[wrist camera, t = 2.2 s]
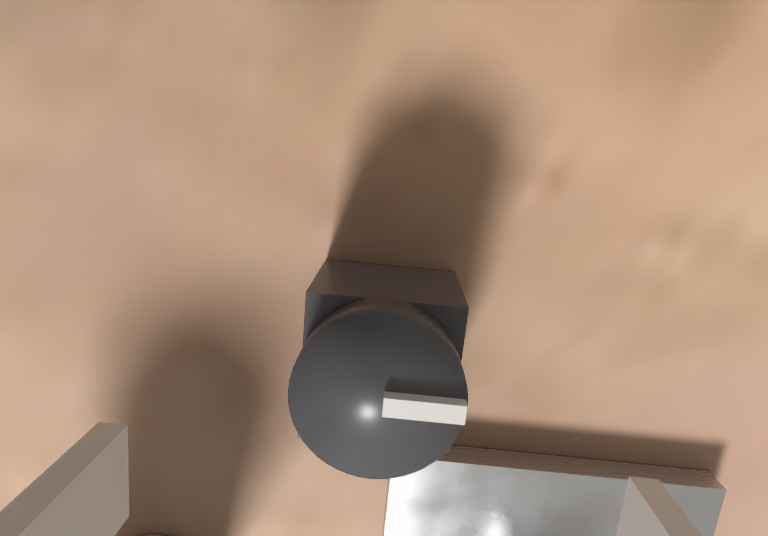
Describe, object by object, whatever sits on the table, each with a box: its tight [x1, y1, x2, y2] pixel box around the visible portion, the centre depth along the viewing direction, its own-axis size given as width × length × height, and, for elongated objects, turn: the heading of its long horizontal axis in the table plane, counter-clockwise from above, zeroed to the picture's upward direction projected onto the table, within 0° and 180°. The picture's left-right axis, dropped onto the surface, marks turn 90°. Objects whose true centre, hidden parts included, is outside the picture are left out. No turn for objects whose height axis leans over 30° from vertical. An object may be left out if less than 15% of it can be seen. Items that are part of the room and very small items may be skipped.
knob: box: [288, 259, 468, 479], centre depth 22 cm, size 6×6×8 cm
